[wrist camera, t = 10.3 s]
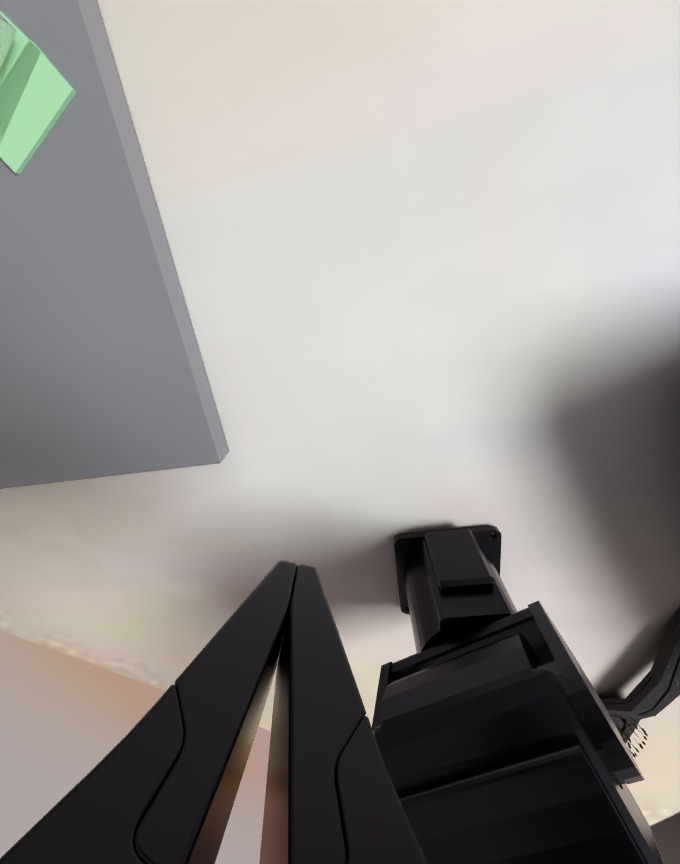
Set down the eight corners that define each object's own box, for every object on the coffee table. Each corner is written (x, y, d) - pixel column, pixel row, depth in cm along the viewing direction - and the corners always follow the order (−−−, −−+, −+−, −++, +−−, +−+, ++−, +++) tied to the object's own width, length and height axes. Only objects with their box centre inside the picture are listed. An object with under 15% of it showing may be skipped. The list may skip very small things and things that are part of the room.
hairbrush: (813, 642, 22) (592, 847, 30) (748, 595, 25) (567, 790, 33) (695, 608, 21) (502, 827, 29) (645, 565, 24) (486, 772, 33)
